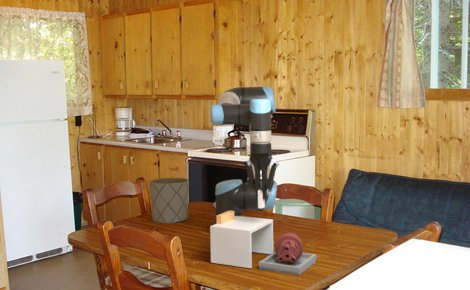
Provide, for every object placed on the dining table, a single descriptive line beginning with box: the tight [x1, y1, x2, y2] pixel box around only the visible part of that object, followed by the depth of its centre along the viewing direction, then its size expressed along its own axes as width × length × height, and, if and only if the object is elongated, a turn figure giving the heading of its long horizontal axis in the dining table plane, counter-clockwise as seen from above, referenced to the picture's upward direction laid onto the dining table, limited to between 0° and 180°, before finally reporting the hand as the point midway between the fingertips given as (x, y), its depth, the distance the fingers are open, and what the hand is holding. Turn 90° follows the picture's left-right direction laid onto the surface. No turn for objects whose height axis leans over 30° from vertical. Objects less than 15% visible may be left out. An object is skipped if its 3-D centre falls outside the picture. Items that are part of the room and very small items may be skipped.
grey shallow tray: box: [258, 251, 318, 276], centre depth 190 cm, size 15×17×2 cm
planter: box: [148, 177, 190, 225], centre depth 262 cm, size 19×19×20 cm
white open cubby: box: [209, 210, 274, 269], centre depth 198 cm, size 16×19×16 cm
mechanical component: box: [274, 232, 304, 264], centre depth 189 cm, size 12×10×10 cm
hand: (261, 207), depth 194 cm, fingers closed
